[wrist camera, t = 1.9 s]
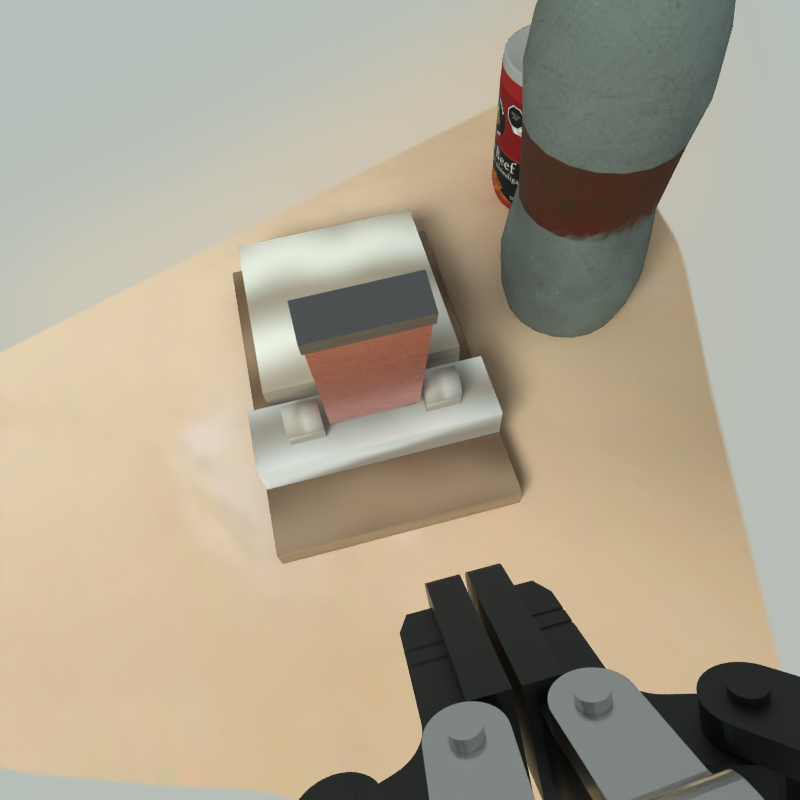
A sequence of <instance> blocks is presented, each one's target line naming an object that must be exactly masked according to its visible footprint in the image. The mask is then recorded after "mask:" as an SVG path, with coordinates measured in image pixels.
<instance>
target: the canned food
mask: <svg viewBox="0 0 800 800" xmlns="http://www.w3.org/2000/svg"><path fill="white" fill-rule="evenodd" d="M530 27H531V25H529V26H526V27H524V28H522V29H521V30H519V31H517V32H516V33H515V34H514V35H512V36H511V37H510V38H509V40H508V42H507V43H506V46H505V51H504V55H503V60H502V71H501V78H500V90H499V102H498V113H497V125H496V136H495V148H494V160H493V171H492V180H493V185H494V189H495V192H496V194H497V197H498V198H499V199H500V201H501V202H502V203H503V204H504V205H505V206H506V207H507V208H509V209H510V208H511V205H512V201H513V198H514V195H515V192H516V189H517V186H518V183H519V172H520V152H521V132H522V111H523V56H524V52H525V48H526V44H527V40H528V36H529V31H530Z"/></svg>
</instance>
